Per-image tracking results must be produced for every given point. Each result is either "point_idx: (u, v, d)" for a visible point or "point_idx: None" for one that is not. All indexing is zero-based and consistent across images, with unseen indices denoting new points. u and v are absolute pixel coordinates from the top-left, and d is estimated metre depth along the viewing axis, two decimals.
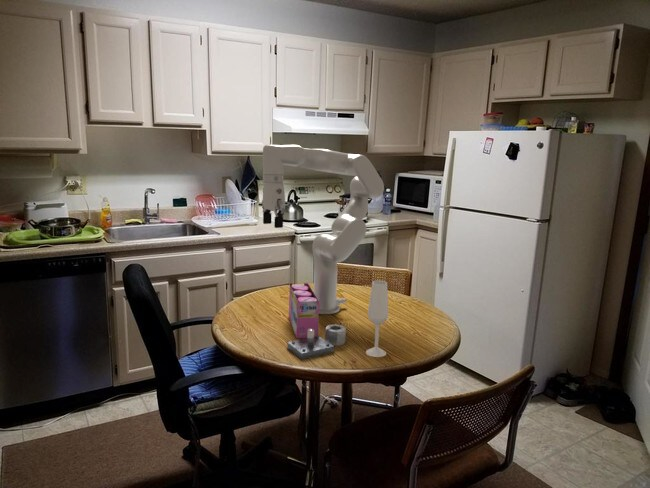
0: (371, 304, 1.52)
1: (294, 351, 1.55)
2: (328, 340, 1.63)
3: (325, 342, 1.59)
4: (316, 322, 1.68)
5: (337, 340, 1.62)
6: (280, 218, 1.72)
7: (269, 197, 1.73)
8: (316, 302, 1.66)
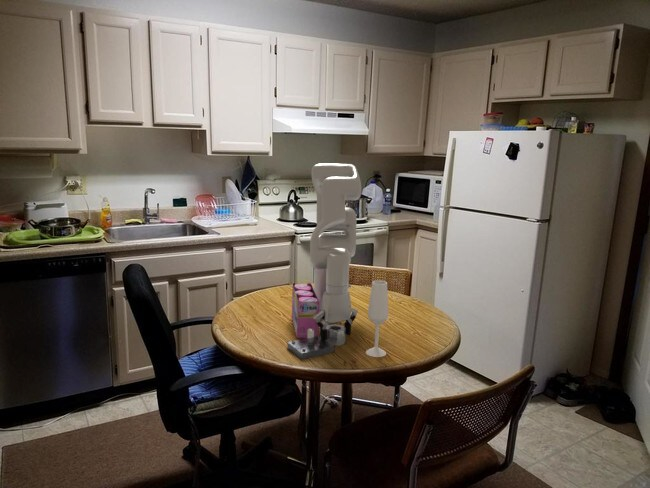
0: (371, 304, 1.52)
1: (294, 351, 1.55)
2: (328, 340, 1.63)
3: (325, 342, 1.59)
4: None
5: (337, 340, 1.62)
6: None
7: (345, 307, 1.62)
8: (316, 302, 1.66)
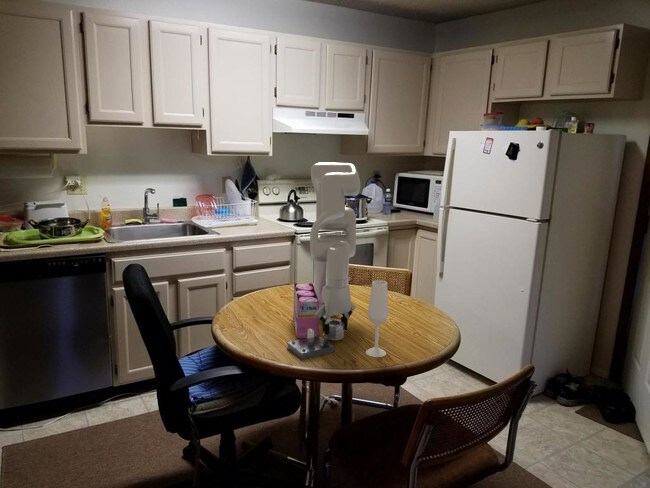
0: (371, 304, 1.52)
1: (294, 351, 1.55)
2: (327, 335, 1.64)
3: (325, 342, 1.59)
4: (316, 322, 1.67)
5: (336, 335, 1.63)
6: None
7: (344, 301, 1.62)
8: (316, 302, 1.66)
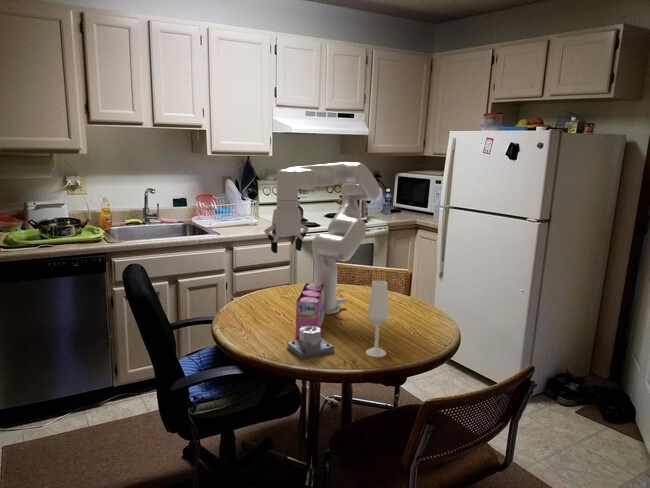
0: (371, 304, 1.52)
1: (294, 351, 1.55)
2: (302, 342, 1.55)
3: (325, 342, 1.59)
4: (315, 323, 1.66)
5: (311, 342, 1.54)
6: None
7: (294, 222, 1.71)
8: (315, 303, 1.65)
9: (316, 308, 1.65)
